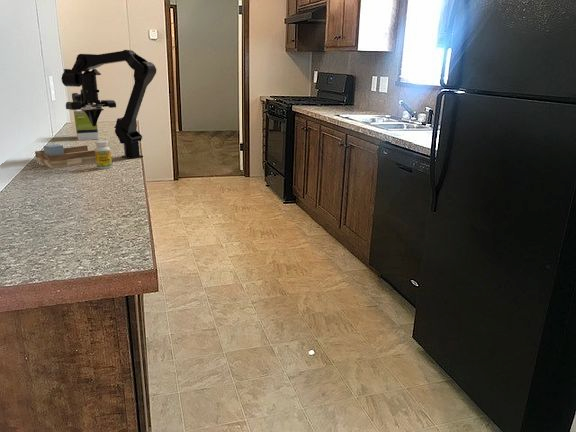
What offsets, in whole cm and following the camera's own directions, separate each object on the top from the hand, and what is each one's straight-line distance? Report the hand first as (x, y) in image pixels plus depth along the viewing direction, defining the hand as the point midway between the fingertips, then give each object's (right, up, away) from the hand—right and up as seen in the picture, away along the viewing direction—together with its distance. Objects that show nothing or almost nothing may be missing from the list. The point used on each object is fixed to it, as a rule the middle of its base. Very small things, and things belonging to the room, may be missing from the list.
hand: (93, 126), depth 193 cm
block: (-7, -16, -18) cm, 25 cm away
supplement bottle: (+12, -19, -19) cm, 30 cm away
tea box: (-23, +3, +49) cm, 54 cm away
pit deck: (-5, -16, -10) cm, 20 cm away
